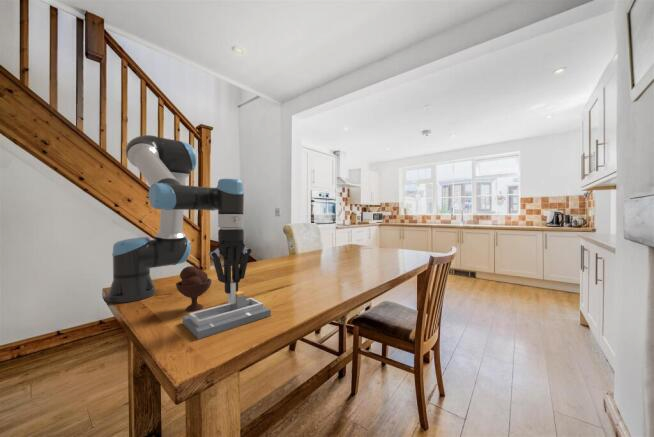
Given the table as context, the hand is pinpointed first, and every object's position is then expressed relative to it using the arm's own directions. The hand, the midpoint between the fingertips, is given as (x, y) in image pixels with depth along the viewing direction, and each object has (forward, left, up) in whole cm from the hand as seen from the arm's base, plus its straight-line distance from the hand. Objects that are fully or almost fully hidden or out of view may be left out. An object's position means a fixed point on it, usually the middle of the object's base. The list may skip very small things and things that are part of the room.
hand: (231, 302), depth 80 cm
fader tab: (0, +2, -3) cm, 4 cm away
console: (0, -1, -5) cm, 5 cm away
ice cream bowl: (-17, -6, -5) cm, 19 cm away
